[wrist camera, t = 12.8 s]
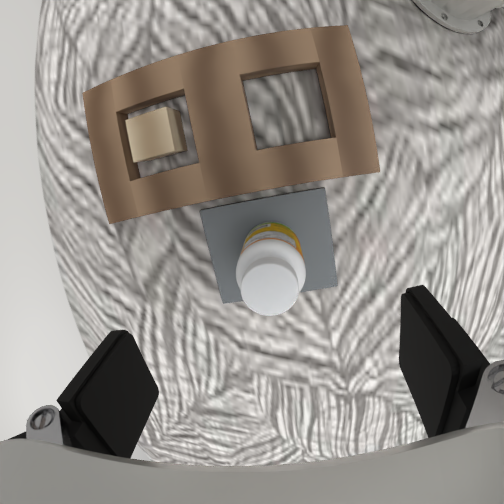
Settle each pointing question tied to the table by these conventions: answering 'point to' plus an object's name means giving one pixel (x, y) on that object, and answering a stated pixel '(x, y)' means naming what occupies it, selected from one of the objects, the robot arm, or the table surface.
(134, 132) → the maple block
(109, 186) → the puzzle board
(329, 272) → the rubber mat
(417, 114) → the table surface
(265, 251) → the supplement bottle
